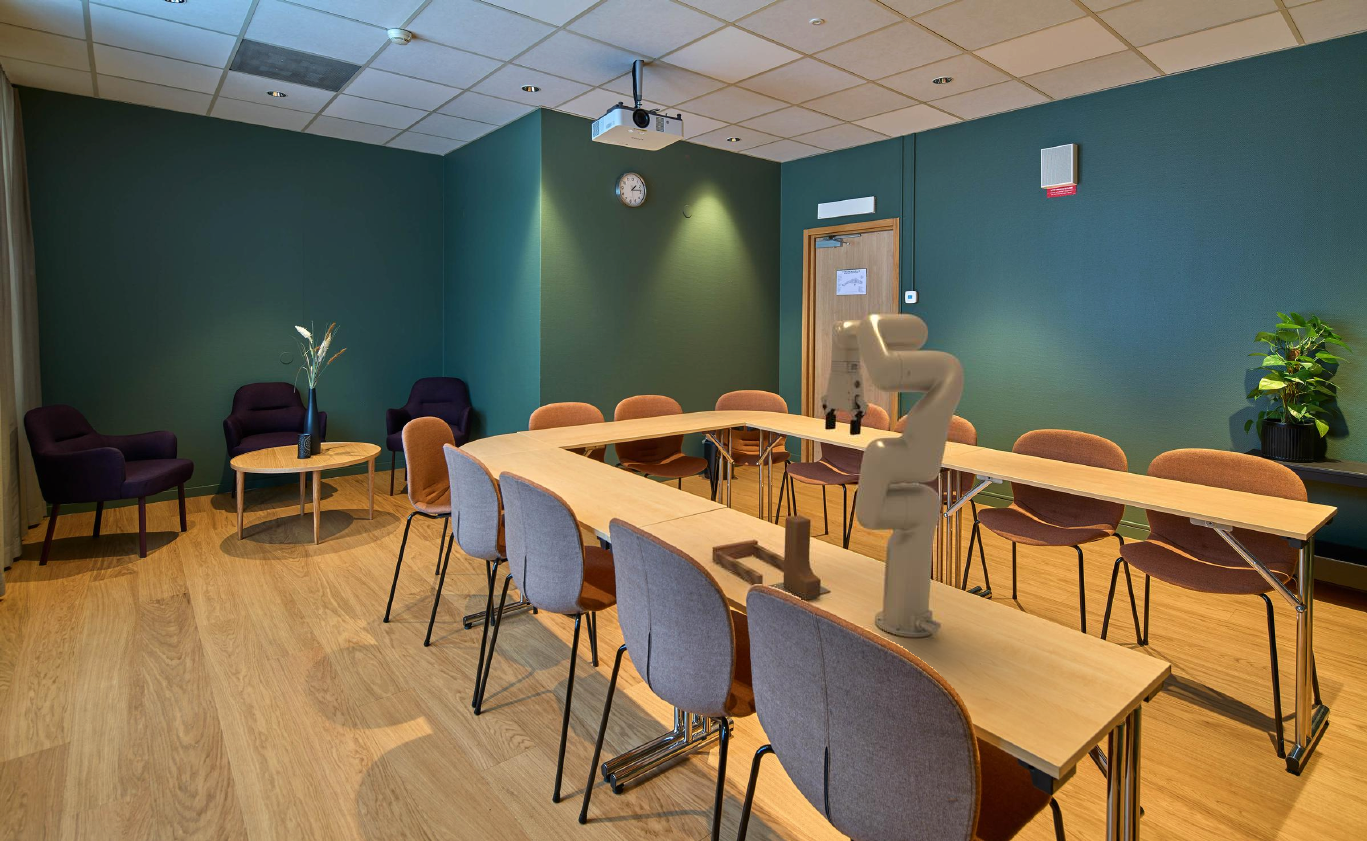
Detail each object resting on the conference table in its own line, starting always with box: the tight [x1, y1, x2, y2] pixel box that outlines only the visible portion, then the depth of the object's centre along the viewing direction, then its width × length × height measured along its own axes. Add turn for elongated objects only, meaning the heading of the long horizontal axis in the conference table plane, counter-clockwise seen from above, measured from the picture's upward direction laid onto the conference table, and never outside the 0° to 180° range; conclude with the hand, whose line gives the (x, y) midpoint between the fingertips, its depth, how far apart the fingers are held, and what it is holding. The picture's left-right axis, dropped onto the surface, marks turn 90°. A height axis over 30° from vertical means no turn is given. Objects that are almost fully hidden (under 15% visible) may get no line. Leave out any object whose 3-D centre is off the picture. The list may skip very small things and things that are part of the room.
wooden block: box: [783, 514, 822, 600], centre depth 170 cm, size 9×4×18 cm, turn 29°
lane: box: [711, 539, 784, 586], centre depth 188 cm, size 22×14×4 cm, turn 29°
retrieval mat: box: [767, 581, 831, 600], centre depth 173 cm, size 10×14×1 cm
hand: (842, 431), depth 189 cm, fingers open, 9 cm apart
